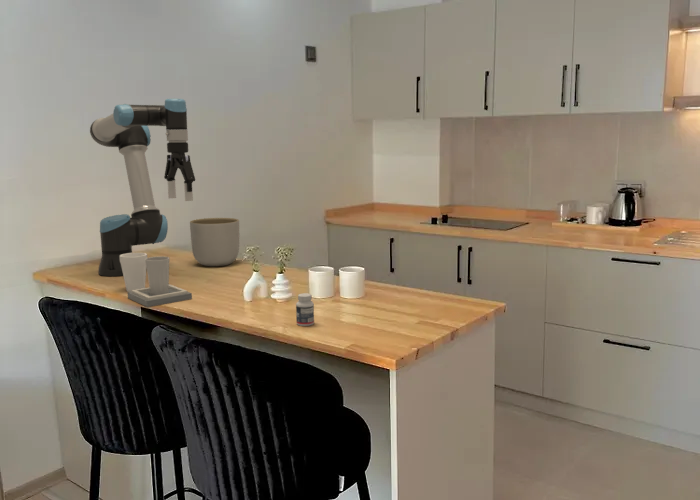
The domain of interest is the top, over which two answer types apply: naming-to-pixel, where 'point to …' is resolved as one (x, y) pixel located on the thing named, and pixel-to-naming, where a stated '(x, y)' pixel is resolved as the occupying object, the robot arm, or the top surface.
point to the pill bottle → (305, 310)
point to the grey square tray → (159, 296)
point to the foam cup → (134, 270)
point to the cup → (158, 274)
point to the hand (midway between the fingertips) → (180, 199)
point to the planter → (215, 240)
